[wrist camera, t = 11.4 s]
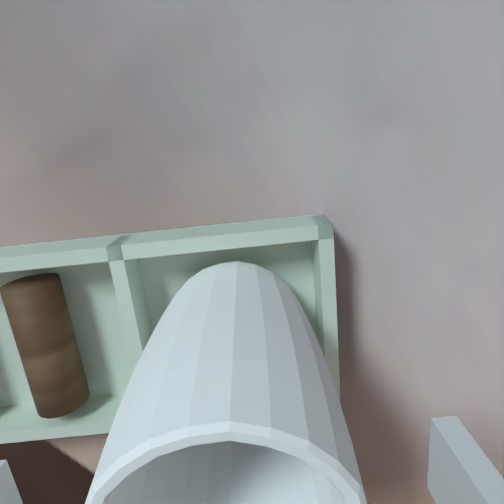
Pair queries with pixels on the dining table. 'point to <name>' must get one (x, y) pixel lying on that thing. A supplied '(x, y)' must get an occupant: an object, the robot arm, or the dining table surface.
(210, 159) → the dining table surface
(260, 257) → the caddy
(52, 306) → the dowel
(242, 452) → the cup
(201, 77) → the dining table surface
